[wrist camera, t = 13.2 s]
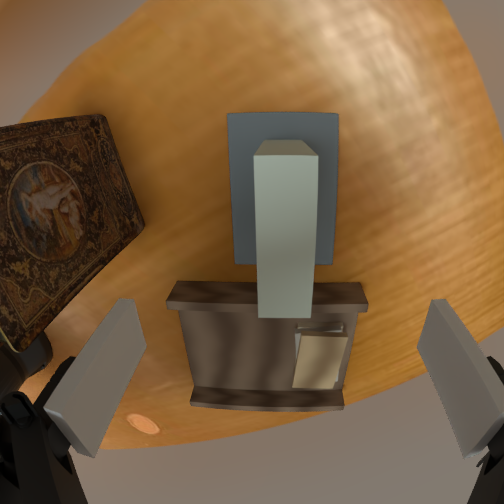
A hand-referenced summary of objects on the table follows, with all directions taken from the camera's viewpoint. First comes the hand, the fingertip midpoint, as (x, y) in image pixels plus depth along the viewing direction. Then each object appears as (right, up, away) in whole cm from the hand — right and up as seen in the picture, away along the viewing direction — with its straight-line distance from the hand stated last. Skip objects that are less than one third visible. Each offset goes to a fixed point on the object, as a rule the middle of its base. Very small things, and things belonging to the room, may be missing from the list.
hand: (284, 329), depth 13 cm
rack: (+1, -10, +31) cm, 33 cm away
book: (-20, +13, +23) cm, 33 cm away
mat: (+2, +10, +22) cm, 24 cm away
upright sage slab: (+2, +10, +22) cm, 24 cm away
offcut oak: (+8, -11, +27) cm, 31 cm away
